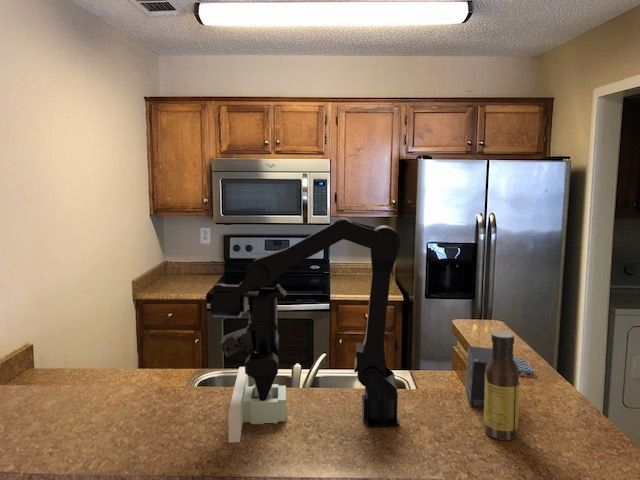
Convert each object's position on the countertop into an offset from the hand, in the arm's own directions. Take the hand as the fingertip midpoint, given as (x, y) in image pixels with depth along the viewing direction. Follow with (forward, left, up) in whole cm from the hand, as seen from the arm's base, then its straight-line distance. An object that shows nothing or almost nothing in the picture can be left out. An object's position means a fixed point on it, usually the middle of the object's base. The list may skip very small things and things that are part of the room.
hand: (263, 390), depth 98 cm
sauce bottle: (-46, +11, -5) cm, 47 cm away
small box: (-49, -4, -5) cm, 49 cm away
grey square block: (0, 0, -5) cm, 5 cm away
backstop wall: (+5, 0, -5) cm, 7 cm away
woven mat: (-64, -21, -6) cm, 68 cm away
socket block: (0, 0, -5) cm, 5 cm away
